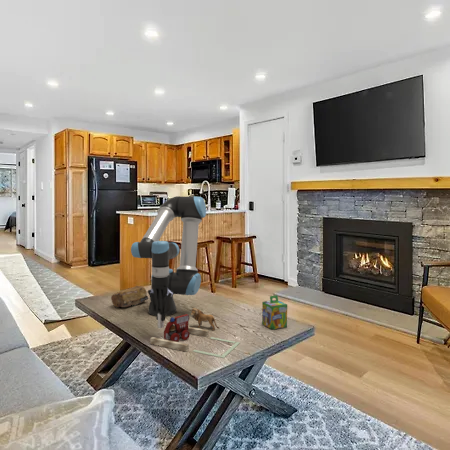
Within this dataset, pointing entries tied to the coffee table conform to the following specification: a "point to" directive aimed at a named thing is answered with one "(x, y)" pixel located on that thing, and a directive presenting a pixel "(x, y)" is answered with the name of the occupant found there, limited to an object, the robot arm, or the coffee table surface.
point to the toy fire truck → (177, 328)
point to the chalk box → (274, 313)
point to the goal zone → (217, 354)
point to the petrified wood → (129, 296)
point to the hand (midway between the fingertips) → (160, 327)
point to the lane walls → (176, 344)
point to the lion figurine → (203, 318)
